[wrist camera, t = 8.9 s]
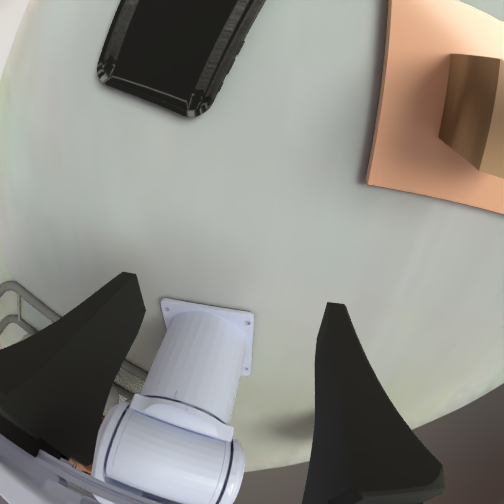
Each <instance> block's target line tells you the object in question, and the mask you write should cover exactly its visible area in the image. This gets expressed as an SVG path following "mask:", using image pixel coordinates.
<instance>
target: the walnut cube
mask: <svg viewBox="0 0 504 504" xmlns="http://www.w3.org/2000/svg"><path fill="white" fill-rule="evenodd" d="M438 138H439V139H440V140H442V141H443V142H444V143H446V144H447V145H448V146H449V147H451V148H452V149H453V150H454V151H456V152H457V153H458V154H459V155H461V156H462V157H463V158H464V159H465V160H467V161H468V162H469V163H470V164H471V165H473V166H474V167H475V168H476V169H477V170H478V171H480V172H484V173H487V174H490V175H493V176H496V177H500V178H503V179H504V60H502V59H498V58H491V57H484V56H475V55H465V54H453V53H451V59H450V68H449V76H448V84H447V91H446V97H445V103H444V109H443V115H442V120H441V126H440V131H439V135H438Z"/></svg>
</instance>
